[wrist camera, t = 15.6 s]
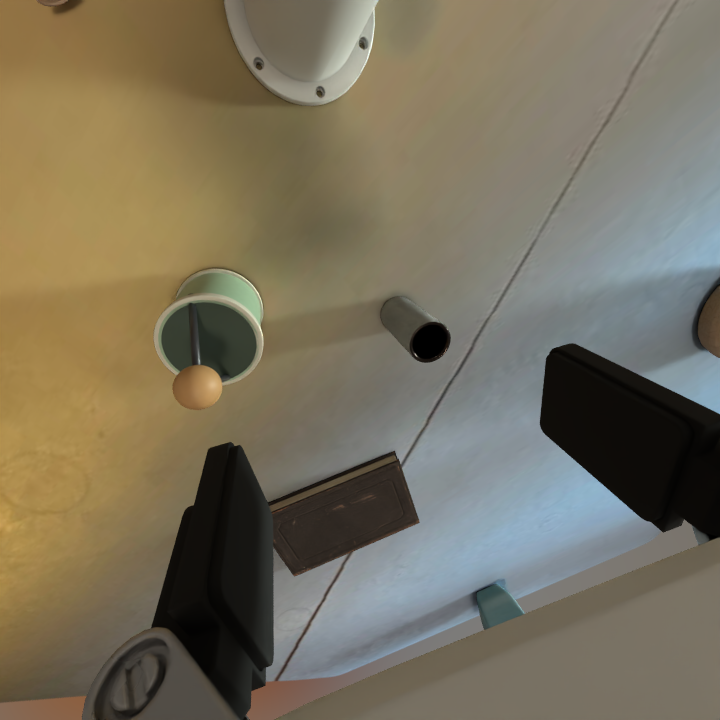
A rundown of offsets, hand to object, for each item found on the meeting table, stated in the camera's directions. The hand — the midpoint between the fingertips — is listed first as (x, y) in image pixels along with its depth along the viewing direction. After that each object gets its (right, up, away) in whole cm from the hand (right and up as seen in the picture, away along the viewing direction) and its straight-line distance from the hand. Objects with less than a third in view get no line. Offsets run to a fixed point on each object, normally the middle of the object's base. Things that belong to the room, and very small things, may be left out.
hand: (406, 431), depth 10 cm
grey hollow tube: (+3, +8, +33) cm, 34 cm away
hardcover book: (-4, -23, +46) cm, 51 cm away
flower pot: (+28, -52, +68) cm, 90 cm away
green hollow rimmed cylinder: (-14, 0, +22) cm, 26 cm away
